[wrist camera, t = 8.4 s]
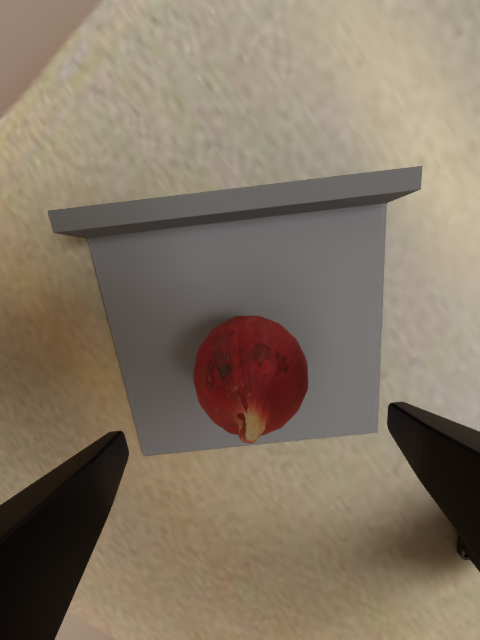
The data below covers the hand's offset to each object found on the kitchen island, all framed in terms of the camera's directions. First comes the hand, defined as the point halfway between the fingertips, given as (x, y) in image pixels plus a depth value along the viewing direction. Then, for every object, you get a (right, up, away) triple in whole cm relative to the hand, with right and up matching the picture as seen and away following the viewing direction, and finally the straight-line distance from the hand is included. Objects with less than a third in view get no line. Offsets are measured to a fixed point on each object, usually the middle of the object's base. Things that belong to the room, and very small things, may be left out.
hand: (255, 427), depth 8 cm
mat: (0, +2, +8) cm, 9 cm away
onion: (0, +2, +8) cm, 8 cm away
